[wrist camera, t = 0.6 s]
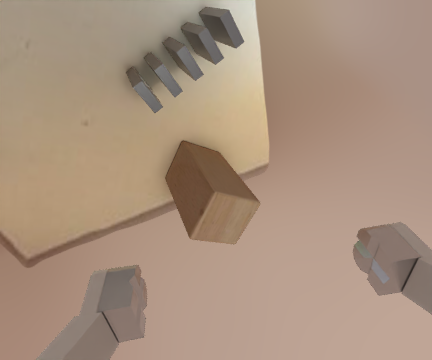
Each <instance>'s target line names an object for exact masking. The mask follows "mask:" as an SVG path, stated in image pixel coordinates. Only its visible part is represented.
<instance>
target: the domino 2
mask: <svg viewBox="0 0 432 360" xmlns="http://www.w3.org/2000/svg"><path fill="white" fill-rule="evenodd" d="M144 59H145V60H146V62H147V63H148V64H149V65H150V67H151V68H152V69H153V71H154V72H155V73H156V75H157V76H158V77H159V79H160V80H161V81H162V82H163V84H164V85H165V86H166V87H167V89H168V90H169V91H170V92H171V93H172V95H173V96H174V97H176V96H177V95H179V94H180V93H181V92H182V89H181V88H180V86H179V85H178V84H177V82H176V81H175V80H174V78H173V77H172V75H171V74H170V73H169V71H168V70H167V69H166V67H165V66H164V64H163V63H162V62H161V61H160V60H159V59H158V58H157V57H156V56H155V55H154V54H152V53H151V52H150V53H149V54H148V55H147V56H145V57H144Z"/></svg>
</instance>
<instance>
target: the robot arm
mask: <svg viewBox="0 0 432 360" xmlns="http://www.w3.org/2000/svg"><path fill="white" fill-rule="evenodd" d="M357 237H358V239H359V241H358V242H357V243H356V244H355V245H354V249H353V255H354V259H355V262H356V264H357V265H358V267H359V268H360V270H362V271H364V272H365V273H367V274H368V278H367V280H368V281H369V283H370V284H371V286H372V287H373V288H374V290H375V291H376V293H377V294H378V295H385V294H392V293H399V292H402V294H403V295H405V296H406V297H407V298H409V299H410V300H412V301H413V302H415V303H416V304H418V305H419V306H420V307H422V308H423V309H425V310H426V311H428V312H429V313H431V314H432V250H431V249H430V248H429V247H428V246H427V245H426V244H425V243H424V242H423V241H422V240H421V239H420V238H419V237H418V236H417V235H416V234H415V233H414V232H412V231H411V230H410V229H409V228H408V227H407V226H406V225H405V224H403V223H401V222H399V223H393V224H387V225H380V226H374V227H368V228H363V229H360V230H359V231H358V234H357ZM146 306H147V289H146V284H145V281H144V279H143V278H141V270H140V267H139V265H133V266H126V267H118V268H111V269H105V270H98V271H94V272H93V273H92V275H91V277H90V280H89V284H88V288H87V291H86V294H85V298H84V301H83V305H82V308H81V311H80V315H79V316H76V317H74V318H73V319H72V320H71V321H70V323H68V325H67V326H66V327H65V328H64V329H63V330H62V331H61V333H59V335H58V336H57V337H56V338H55V339H54V340H53V341H52V342H51V343H50V344H49V346H48V347H47V348H46V349H45V350H44V351H43V352H42V353H41V354H40V356H39V357H38V358H37V359H36V360H110V358H111V356H112V355H113V353H114V351H115V350H116V348H117V346H118V345H119V342H124V341H128V340H134V339H138V338H143V337H144V331H145V319H146V318H145V315H144V313H143V310H144V309H145V307H146Z"/></svg>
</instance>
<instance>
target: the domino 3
mask: <svg viewBox="0 0 432 360" xmlns="http://www.w3.org/2000/svg"><path fill="white" fill-rule="evenodd" d="M163 45H164V46H165V47H166V49H167V50H168V52H169V53H170V55H171V56H172V58H173V59H174V60H175V62H176V63H177V65H178V66H179V68H181V69H182V70H183V71H184V72H185V73H187V74H188V75H189V76H190V77H191V78H193V79H194V80H195V81H196V80H197V79H199V78H200V77H201V76H202V75H204V74H203V73H202V71H201V69H200V68H199V66H198V65H197V63H196V62H195V60H194V58H193V57H192V55H191V54H190V52H189V51H188V49H187V47H186V46H185V45H184V44H182V43H180V42H178V41H176V40H174V39H173V38H171V37H169V38H167V39H166V40H165V41H164V42H163Z"/></svg>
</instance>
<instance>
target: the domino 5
mask: <svg viewBox="0 0 432 360" xmlns="http://www.w3.org/2000/svg"><path fill="white" fill-rule="evenodd" d="M199 15H200V17H201V18H202V20H203V22H204V24H205V26H206V27H207V29H208V30H209V32H210V34H211V36H212V38H213V39H214V40H215V41H218V42H220V43H223V44H226V45H228V46H231V47H233V48H237V47H238V46H240V45H241V44H242V43H243V42H244V40H243V38H242V36H241V34H240V32H239V30H238V28H237V26H236V24H235V22H234V20H233V17H232V15H231V13H230V11H229V10H226V9H218V8H210V7H205V8H204V9H203V10H202V11H200V12H199Z"/></svg>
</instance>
